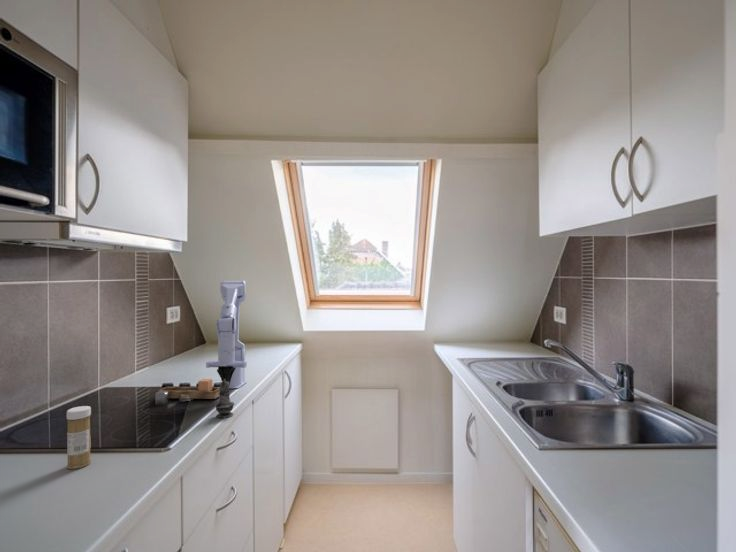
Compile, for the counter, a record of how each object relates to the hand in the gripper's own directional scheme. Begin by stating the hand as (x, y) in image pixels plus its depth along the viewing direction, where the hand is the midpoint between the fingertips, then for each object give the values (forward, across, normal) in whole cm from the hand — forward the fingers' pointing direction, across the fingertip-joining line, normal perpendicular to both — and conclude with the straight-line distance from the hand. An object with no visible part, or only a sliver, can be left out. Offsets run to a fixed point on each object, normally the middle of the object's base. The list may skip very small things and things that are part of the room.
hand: (226, 387), depth 139 cm
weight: (+4, -21, -6) cm, 22 cm away
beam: (+4, -14, 0) cm, 15 cm away
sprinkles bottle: (+5, -13, -51) cm, 53 cm away
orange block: (+1, -8, 0) cm, 8 cm away
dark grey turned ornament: (+5, +7, -17) cm, 19 cm away
